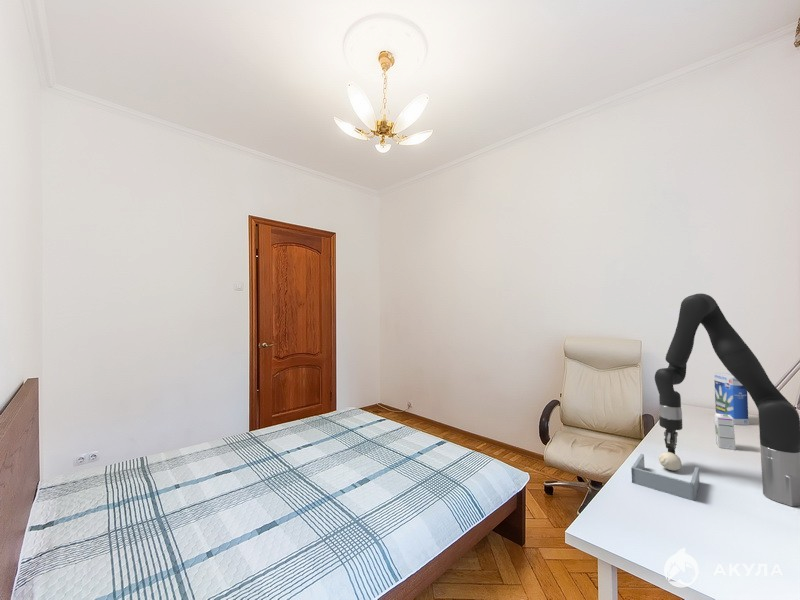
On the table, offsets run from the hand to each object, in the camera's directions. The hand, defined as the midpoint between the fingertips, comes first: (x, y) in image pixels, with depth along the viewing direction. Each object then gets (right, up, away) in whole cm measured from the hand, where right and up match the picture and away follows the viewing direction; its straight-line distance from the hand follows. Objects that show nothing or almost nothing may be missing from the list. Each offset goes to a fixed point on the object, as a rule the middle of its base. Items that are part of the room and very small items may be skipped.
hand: (671, 457), depth 140 cm
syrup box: (+38, -3, +16) cm, 42 cm away
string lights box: (+75, -3, +50) cm, 90 cm away
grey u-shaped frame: (-13, -3, -13) cm, 19 cm away
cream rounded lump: (-4, -3, -4) cm, 6 cm away
